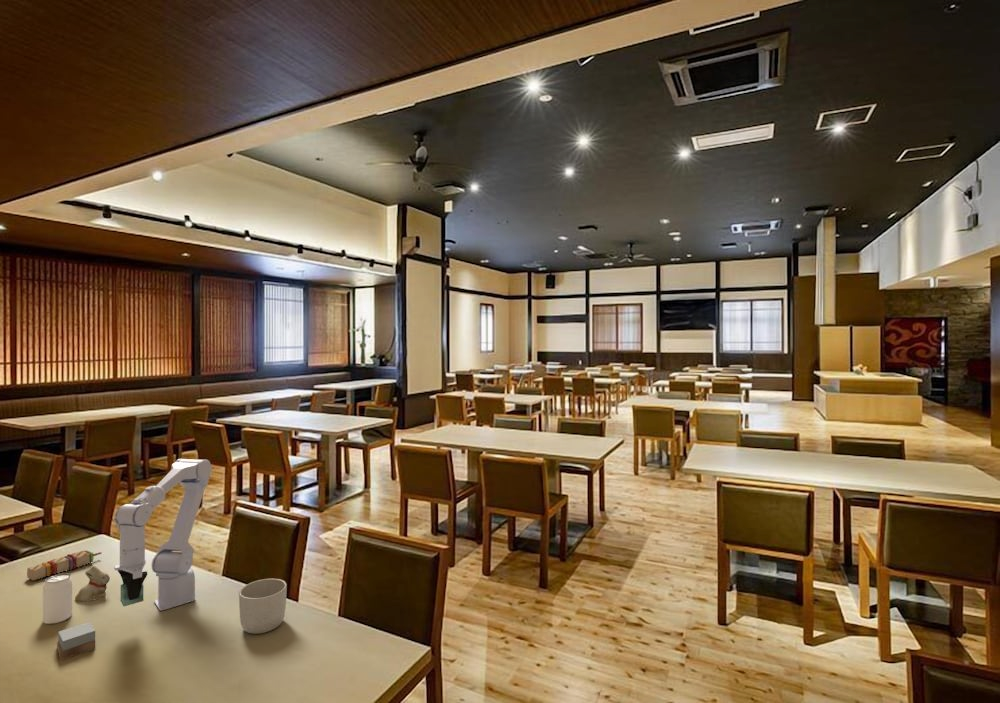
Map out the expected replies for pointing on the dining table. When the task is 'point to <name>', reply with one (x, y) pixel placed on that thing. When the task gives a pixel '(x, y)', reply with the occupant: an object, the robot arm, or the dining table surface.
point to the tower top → (76, 636)
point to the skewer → (60, 564)
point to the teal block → (125, 598)
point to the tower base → (75, 649)
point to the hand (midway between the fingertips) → (132, 595)
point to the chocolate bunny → (93, 585)
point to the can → (57, 598)
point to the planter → (262, 605)
